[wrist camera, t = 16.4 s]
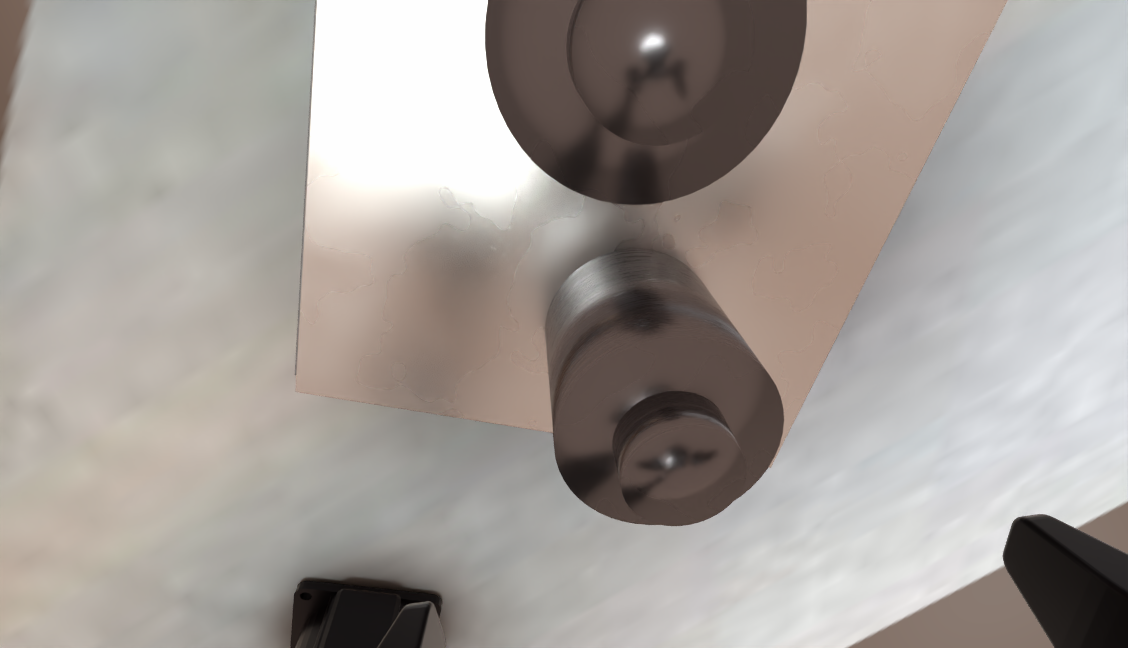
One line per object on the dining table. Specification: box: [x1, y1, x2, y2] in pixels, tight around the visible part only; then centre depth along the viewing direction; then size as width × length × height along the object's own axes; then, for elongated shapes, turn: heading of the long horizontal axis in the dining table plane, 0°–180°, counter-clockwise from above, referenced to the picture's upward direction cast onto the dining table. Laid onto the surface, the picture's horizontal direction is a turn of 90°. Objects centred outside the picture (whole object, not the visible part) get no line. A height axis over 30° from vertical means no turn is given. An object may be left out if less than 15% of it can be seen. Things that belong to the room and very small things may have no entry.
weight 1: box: [485, 0, 807, 205], centre depth 10 cm, size 5×5×6 cm
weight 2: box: [545, 249, 784, 526], centre depth 14 cm, size 5×5×6 cm
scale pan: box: [296, 0, 1007, 468], centre depth 16 cm, size 17×15×4 cm
